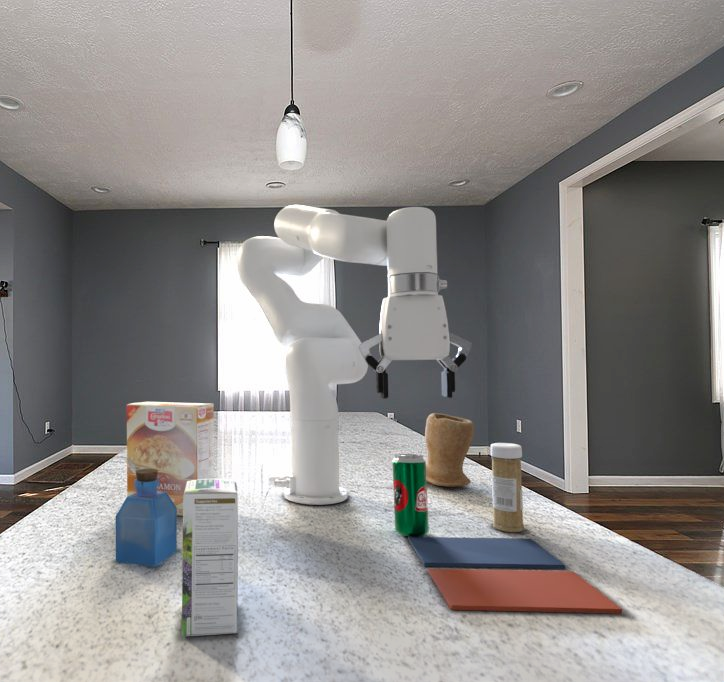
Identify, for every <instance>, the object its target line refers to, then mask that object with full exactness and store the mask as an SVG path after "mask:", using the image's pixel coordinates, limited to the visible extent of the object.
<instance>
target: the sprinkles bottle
mask: <svg viewBox="0 0 724 682" xmlns="http://www.w3.org/2000/svg"><path fill="white" fill-rule="evenodd" d="M490 456H491V457H490V459H491V473H492V474H491V487H492V488H491V490H492V491H491V492H492V493H491V494H492V496H491V497H492V511H493V513H492V514H493V517H492V518H493V522H492V526H493V528H495V530H499V531H501V532H508V533H519V532H522V531H523V530H524V528H525V526H524V519H523V518H524V515H523V510H524V499H523V489H522V488H523V487H522V458H523V449H522V446H521V445H520V444H517V443H513V442H512V443H511V442H509V443H508V442H495V443H491V444H490Z"/></svg>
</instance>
